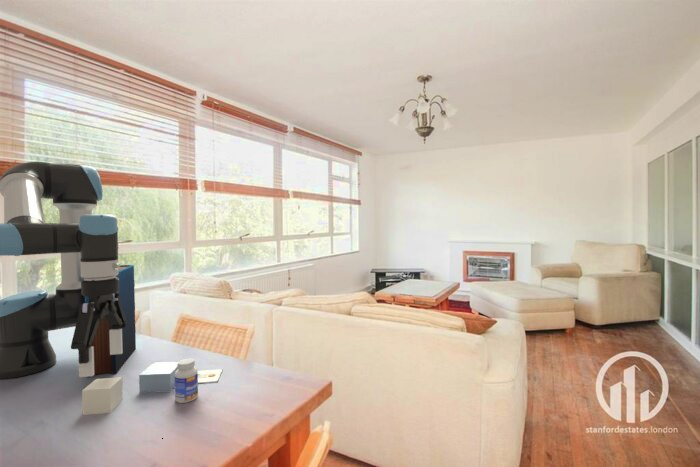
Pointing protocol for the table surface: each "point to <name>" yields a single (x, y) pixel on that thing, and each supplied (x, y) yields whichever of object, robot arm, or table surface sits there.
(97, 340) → the book
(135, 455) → the table surface
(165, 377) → the base block
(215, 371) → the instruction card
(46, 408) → the table surface
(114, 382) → the cream cube
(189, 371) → the pill bottle
